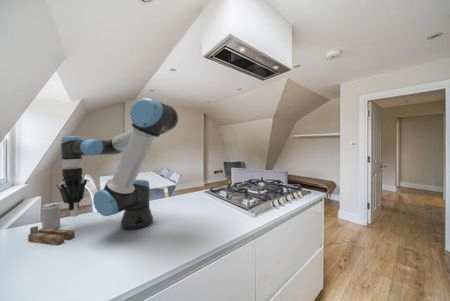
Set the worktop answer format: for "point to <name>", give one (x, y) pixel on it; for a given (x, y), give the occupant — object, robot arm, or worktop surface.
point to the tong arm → (58, 232)
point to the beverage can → (51, 216)
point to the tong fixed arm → (44, 237)
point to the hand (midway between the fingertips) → (74, 215)
